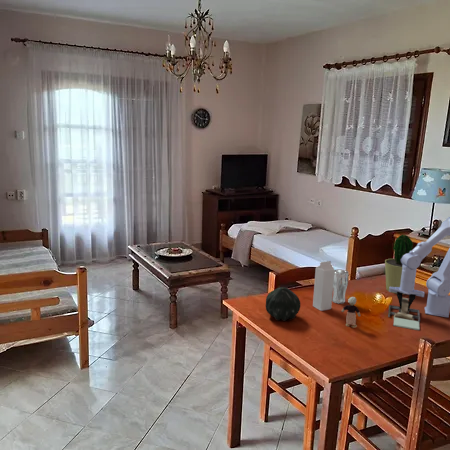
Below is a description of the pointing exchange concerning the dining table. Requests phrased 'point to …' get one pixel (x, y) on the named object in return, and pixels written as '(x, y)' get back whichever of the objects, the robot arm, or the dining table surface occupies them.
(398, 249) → the potted cactus
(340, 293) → the beer glass
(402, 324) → the sage mat
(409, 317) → the offcut stack
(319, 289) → the milk
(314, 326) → the dining table surface
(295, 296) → the squash
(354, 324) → the grandmother figurine
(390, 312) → the metal rack
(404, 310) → the tall beige block
